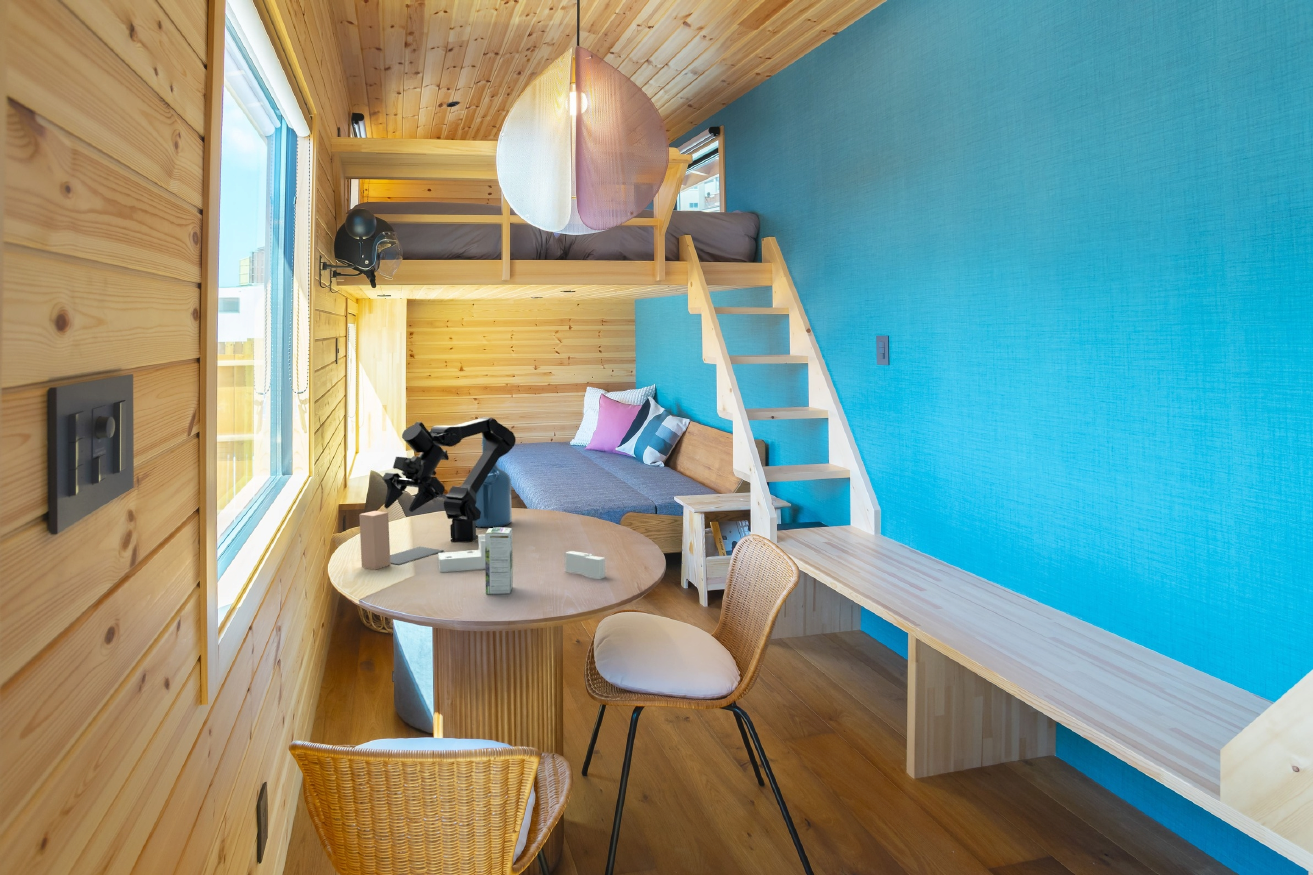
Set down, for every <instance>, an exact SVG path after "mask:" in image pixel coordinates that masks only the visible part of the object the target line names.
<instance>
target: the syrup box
mask: <svg viewBox="0 0 1313 875" xmlns="http://www.w3.org/2000/svg"><path fill="white" fill-rule="evenodd" d="M484 535H485V571H484V572H485V576H484V577H485V594H486V595H502V594H503V595H504V594H511V592H512V589H513V585H514V584H513V582H514V581H513V580H514V579H513V576H514V575H513V571H514V569H513V528H510V527H503V526H500V527H493V528H487V531H486V532H485V534H484Z"/></svg>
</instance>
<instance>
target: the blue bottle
mask: <svg viewBox="0 0 1313 875" xmlns="http://www.w3.org/2000/svg"><path fill="white" fill-rule="evenodd" d="M481 439H482V440H481V446H482V451H481V452H482V454H483V452H484V451H485V439H484V438H483V437H482V438H481ZM482 454H481V455H482ZM511 479H512V478H511V477H510V475H509V473H507V472H506V471H505V470H503V469H501V468H499V467H498V465H497V463H496V464H495V465H494V467H493V468H492V470H491V472H490V473H489V475H488V476H487V478H486V479H485V481H484V482H483V484H482V486H481V487H480V489H479V490H478V492H477V494H476V500H477V502H476V505H475V506H476V507H477V508H478V509H479V510H480V511H481V515H480V519H477V521H476V526H477V527H476V528H481V527H488V528H487V529H489V527H493V528H496V527H503V526H507V525H509V524H511V522H512V520H513V519H512V517H513V515H512V512H513V511H512V510H513V509H512V482H511V481H512V480H511Z"/></svg>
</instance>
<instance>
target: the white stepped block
mask: <svg viewBox="0 0 1313 875" xmlns="http://www.w3.org/2000/svg"><path fill="white" fill-rule="evenodd" d="M564 554H565V555H564V556H565V557H564V558H565V560H564V562H565V563H564V565H565V573H566V572H567V573H571V574H578V575H583V576H584V577H585V578H589V579H596V580H601V579H604V578H606V558H605V557H604V556H596V555H593V553H586V552H580V551H574V550H569V551H566V552H565V553H564Z"/></svg>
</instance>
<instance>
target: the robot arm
mask: <svg viewBox="0 0 1313 875" xmlns="http://www.w3.org/2000/svg"><path fill="white" fill-rule="evenodd" d="M479 434H481V435H482V438H484V439H485V451H484V452H483V454H481V456H480V457H479V459H478V460H477V462H475V464H474V466H473V468H472V469H471V471H470V472H469V474H468V475H467V477H466V478H465V479H464V481H463V483H462V484H461V485H459V486H455V485H454V486H452V487H450V489H449V491H448V493H447V494H445V491H446V488H445V487H446V486H445V485H444V484H443V483H442V482H441V481H440V480H439V478H438V477H437V476H436V475H437V471H436V469H437V467H438V465H439V463H440V462H441V461H442V460H443V461H448V460H449V459H450V458H449V455H448V450H445V449H443V448H442V447H448V448H450V447H454V446H456V445H458V444H459V443H461V442H462V440H464V439H466V438H470V437H472V436H475V435H476V436H477V435H479ZM401 438H402V439H403V441H404V442H405V443H406V444H407V445H408V447H410V449H411V450H412V451H413V452H414V453H417V454H419V455H418V456H417V455H416V456H415V455H413V456H412V457H404V456H395V459H394V462H393V466H392V468H393V469H394V470H398V471H401V475H402V476H403V477H405V478H403V477H402V476H401V475H400V474H399V473H398V472H393V471H391V472H390V471H388V472H385V473H384V475H383V476H382V478H381V479H382V481H383V483H384V484H385V485H386V487H387V488H386V489H387V490H386V495H385V501H384V506H383V507H384V508H385V509H387V510H388V509H389V508H390V507H391V506H392V505H394V503H395V502H397V500H398V499H399V498H401V496H403V495H404V491H406V489H407V488H408V487H410V488H411V487H412V488H416V489H417V493H416V494H415V496H414V498H413V500H412V502H411V504H410V506H409V508H408V511H409V512H410V513H413V512H415V511H416V510H417V509H420V508H421V507H423V505H426V504H427V503H429V502H430V501H433V500H434V499H438V498H439V497H442V496H443V495H444V494H445V495H444V497H445V498H444V501H443V508H444V511H445V514H446V517H447V519H448V520H451V524H450V525H449V527H450V528H449V529H450V538H451V539H450V542H458V543H459V542H461V543H463V542H464V543H465V542H466V543H469V542H474V541H475V540H476V539H477V538H478V535H479V534H478V535H477V527H476V521H477V519H480V515H481V511H480V510H479V509H478V508H477V507H476V506H475V505H476V502H477V500H476V494H477V492H478V490H479V489H480V487H481V486H482V484H483V482H484V481H485V479H486V478H487V476H488V475H489V473H490V472H491V470H492V468H493V467H494V465H495V464H496V465H497V462H498V461H499V459H500V458H502V457H503V456H505V455H506V454H508V453H509V452H510V451H511V450H512V449H513V448H514V446H515V445H516V440H517V439H516V436H515V433H514V432H513V431H512V430H510V429H509V428H508V427H506V426H505V425H503V424H501V423H500V422H499V421H497V420H496V419H495V418H494V417H485V416H484V417H483V416H482V417H479V418H477V419H473V420H470V421H466V422H462V423H459V424H454V425H433V426H432V427H431V429H430V430H428V428H426V425H425V424H424V423H423V422H422V421H415V423H414V424H412V425H410V426H408V427H407V428H406V429H404V431H403V432H402V434H401Z"/></svg>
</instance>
